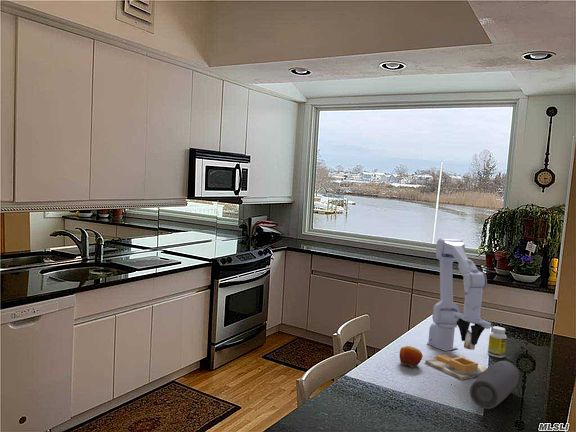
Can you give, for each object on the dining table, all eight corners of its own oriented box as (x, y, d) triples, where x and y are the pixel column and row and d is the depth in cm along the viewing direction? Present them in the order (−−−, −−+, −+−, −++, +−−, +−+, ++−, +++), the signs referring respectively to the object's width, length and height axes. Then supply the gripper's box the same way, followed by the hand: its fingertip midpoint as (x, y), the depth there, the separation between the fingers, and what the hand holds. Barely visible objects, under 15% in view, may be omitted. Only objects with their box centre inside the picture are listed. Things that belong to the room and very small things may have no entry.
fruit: (394, 363, 168) (399, 341, 171) (398, 368, 174) (403, 347, 178) (417, 369, 164) (422, 346, 167) (420, 374, 171) (425, 352, 174)
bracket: (433, 359, 176) (433, 352, 176) (445, 356, 180) (445, 349, 179) (465, 373, 164) (465, 366, 164) (477, 370, 168) (478, 363, 168)
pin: (461, 347, 172) (463, 330, 172) (467, 345, 174) (469, 329, 174) (471, 350, 169) (472, 333, 169) (476, 348, 171) (478, 332, 171)
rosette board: (425, 362, 174) (425, 359, 174) (453, 356, 183) (454, 353, 183) (464, 381, 160) (464, 377, 160) (493, 373, 169) (493, 370, 169)
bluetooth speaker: (489, 384, 159) (492, 355, 159) (519, 393, 154) (522, 363, 153) (465, 406, 142) (469, 374, 141) (498, 418, 136) (502, 384, 135)
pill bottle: (502, 359, 183) (505, 331, 183) (485, 355, 187) (488, 327, 186) (506, 355, 188) (509, 328, 188) (490, 351, 192) (492, 324, 191)
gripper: (448, 301, 174) (445, 337, 175) (483, 311, 162) (479, 350, 163) (460, 299, 178) (457, 335, 179) (496, 310, 166) (492, 347, 167)
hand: (469, 342), depth 171 cm, fingers closed on pin, 4 cm apart
